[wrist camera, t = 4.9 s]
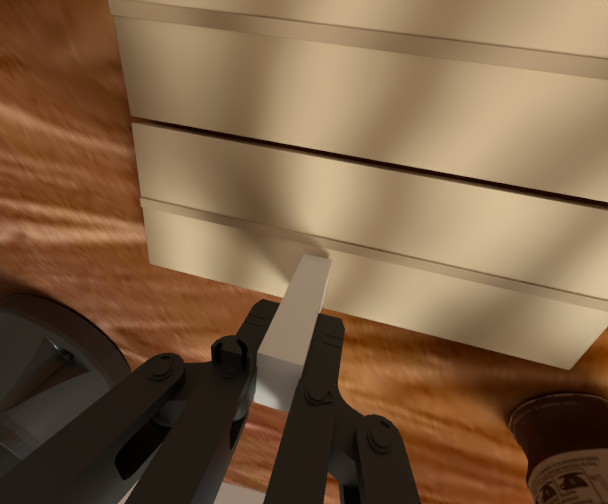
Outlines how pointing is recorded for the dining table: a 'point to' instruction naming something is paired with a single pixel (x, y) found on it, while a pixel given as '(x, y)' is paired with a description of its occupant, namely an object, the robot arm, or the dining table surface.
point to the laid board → (386, 80)
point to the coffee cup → (564, 447)
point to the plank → (381, 241)
